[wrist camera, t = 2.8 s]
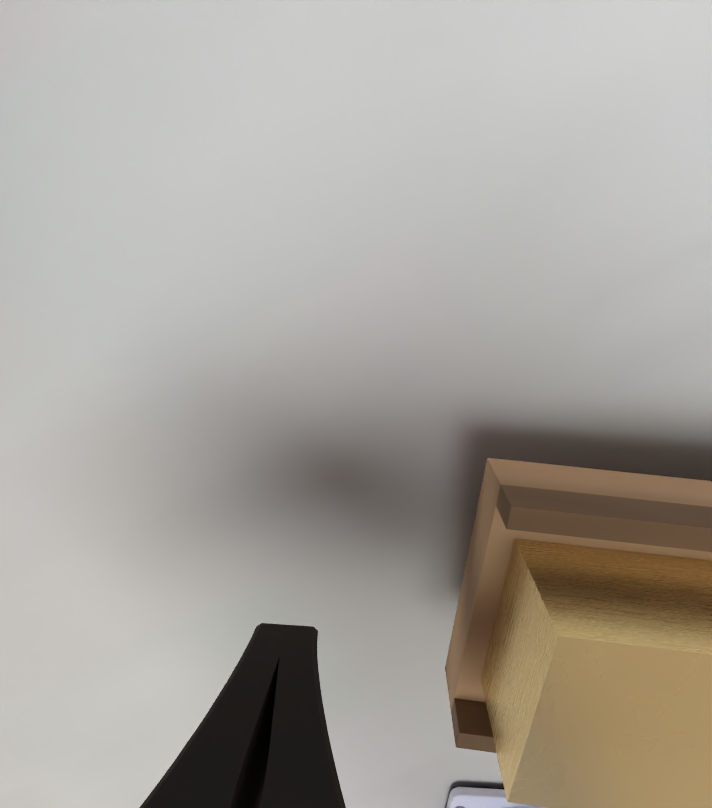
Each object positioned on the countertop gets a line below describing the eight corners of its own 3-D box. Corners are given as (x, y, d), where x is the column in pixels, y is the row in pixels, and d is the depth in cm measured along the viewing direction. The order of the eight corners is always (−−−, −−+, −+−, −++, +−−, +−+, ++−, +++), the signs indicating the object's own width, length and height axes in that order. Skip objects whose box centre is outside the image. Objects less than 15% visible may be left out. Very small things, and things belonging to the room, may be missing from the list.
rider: (689, 706, 12) (779, 840, 9) (480, 679, 12) (507, 802, 10) (755, 565, 11) (889, 676, 8) (514, 538, 11) (558, 635, 8)
